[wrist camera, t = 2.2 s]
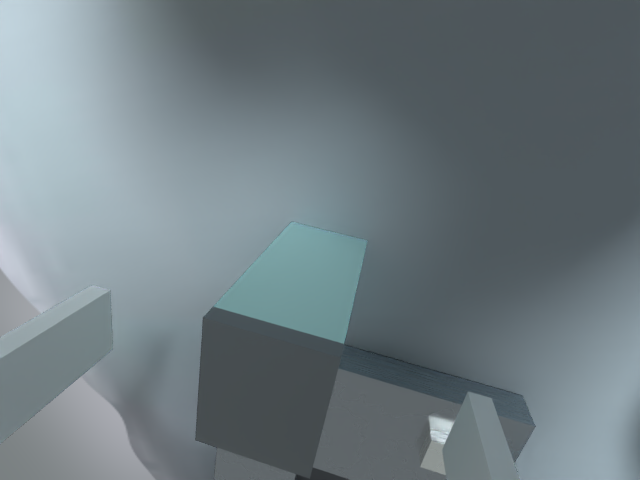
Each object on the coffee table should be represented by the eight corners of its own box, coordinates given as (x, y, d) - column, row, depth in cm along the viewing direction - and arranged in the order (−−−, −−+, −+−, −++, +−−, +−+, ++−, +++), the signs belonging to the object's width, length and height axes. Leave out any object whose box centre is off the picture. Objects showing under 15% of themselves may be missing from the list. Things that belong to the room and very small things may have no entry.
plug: (291, 221, 18) (202, 317, 10) (367, 240, 18) (340, 357, 9) (278, 303, 20) (195, 440, 12) (346, 322, 20) (310, 478, 11)
